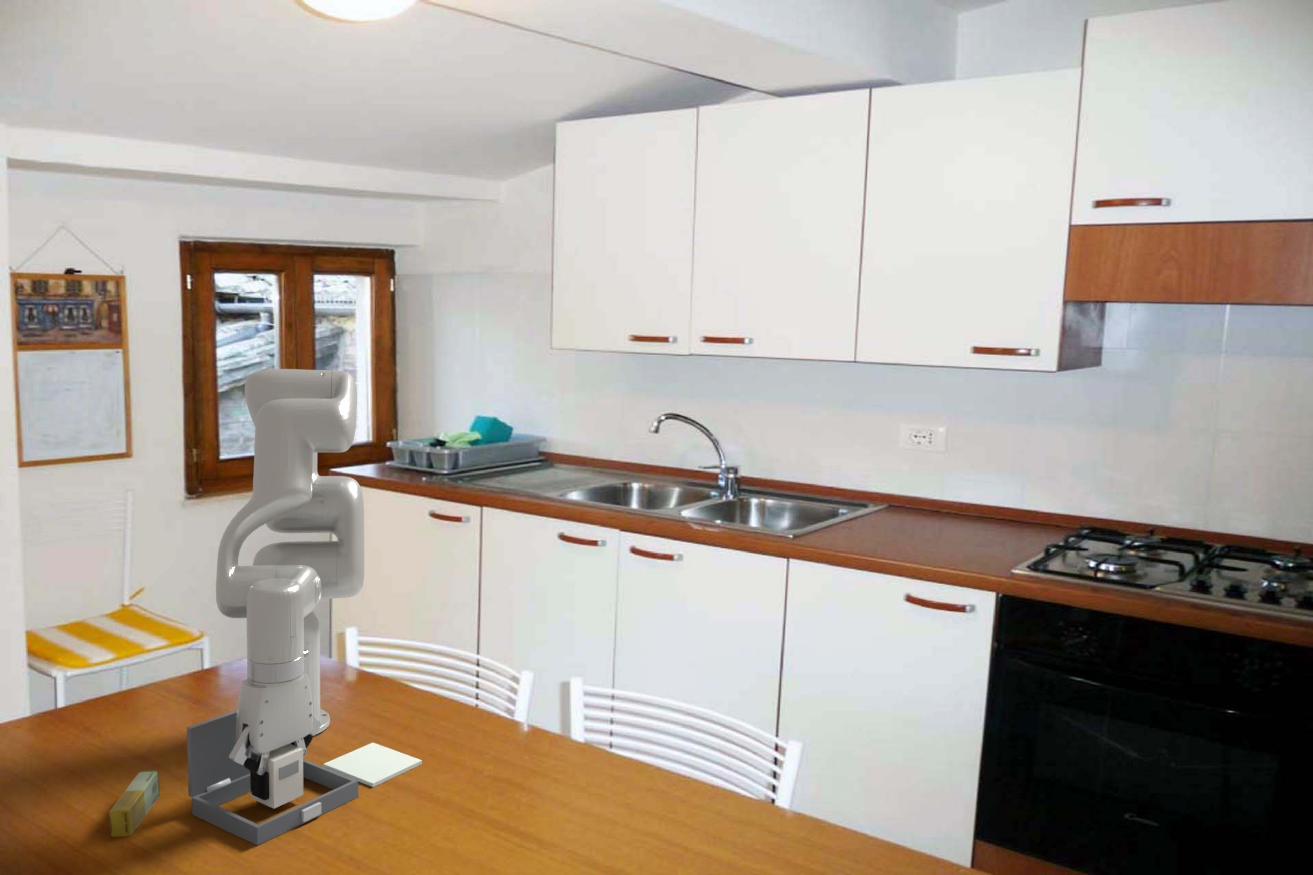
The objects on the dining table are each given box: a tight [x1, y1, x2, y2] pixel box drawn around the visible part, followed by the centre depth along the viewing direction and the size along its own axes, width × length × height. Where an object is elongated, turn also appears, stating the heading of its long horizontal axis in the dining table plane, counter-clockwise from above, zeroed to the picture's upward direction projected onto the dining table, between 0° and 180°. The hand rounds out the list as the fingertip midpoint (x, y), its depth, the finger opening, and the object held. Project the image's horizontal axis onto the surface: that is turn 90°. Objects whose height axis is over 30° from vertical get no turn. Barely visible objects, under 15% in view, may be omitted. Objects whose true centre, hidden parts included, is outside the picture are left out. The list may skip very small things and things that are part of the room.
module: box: [250, 744, 304, 810], centre depth 151 cm, size 5×5×7 cm
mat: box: [322, 742, 423, 788], centre depth 165 cm, size 11×10×1 cm
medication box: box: [108, 770, 161, 838], centre depth 147 cm, size 12×3×4 cm, turn 8°
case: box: [186, 709, 359, 846], centre depth 150 cm, size 16×17×12 cm
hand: (277, 787), depth 151 cm, fingers closed on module, 5 cm apart
